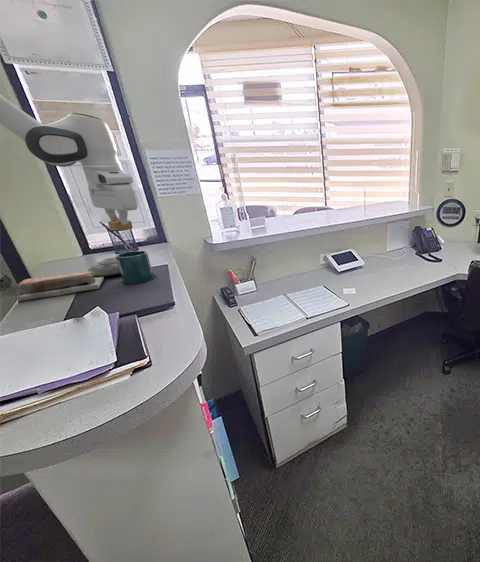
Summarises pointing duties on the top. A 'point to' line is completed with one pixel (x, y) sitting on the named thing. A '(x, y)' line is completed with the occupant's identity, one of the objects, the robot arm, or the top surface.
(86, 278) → the packaged product
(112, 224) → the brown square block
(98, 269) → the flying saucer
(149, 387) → the top surface
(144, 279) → the tea cup
